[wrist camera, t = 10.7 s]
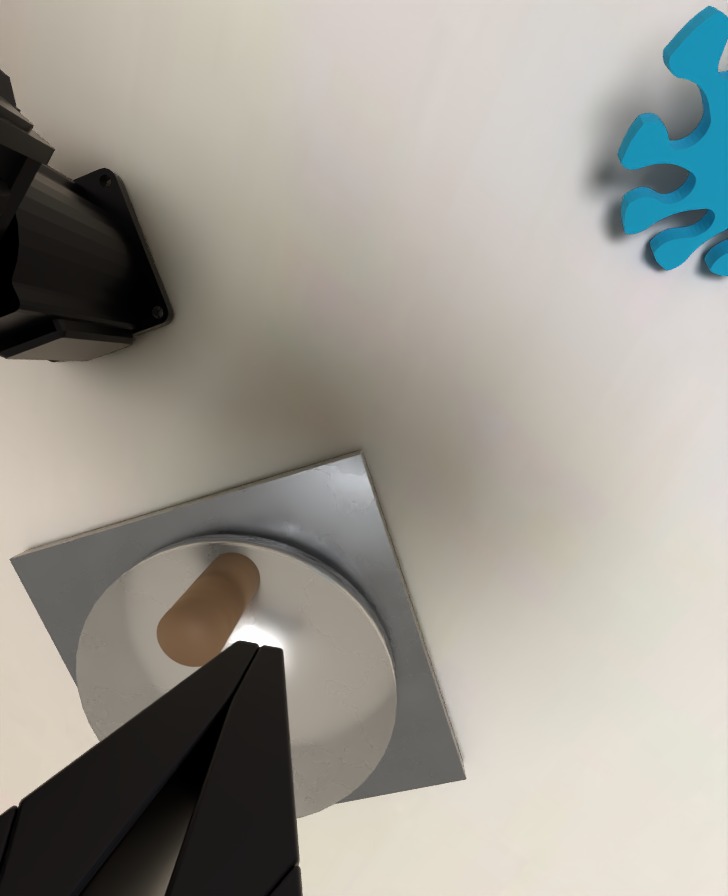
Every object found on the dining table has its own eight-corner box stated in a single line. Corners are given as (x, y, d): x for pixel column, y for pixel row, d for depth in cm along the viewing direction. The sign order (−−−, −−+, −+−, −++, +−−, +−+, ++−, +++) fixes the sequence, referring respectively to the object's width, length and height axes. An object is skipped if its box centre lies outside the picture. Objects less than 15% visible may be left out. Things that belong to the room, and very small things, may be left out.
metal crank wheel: (78, 774, 22) (-15, 898, 17) (111, 497, 18) (4, 547, 13) (347, 847, 22) (335, 992, 17) (435, 583, 18) (453, 667, 13)
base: (27, 549, 20) (-58, 592, 17) (361, 449, 18) (355, 471, 14) (166, 818, 24) (123, 906, 20) (462, 760, 22) (479, 847, 18)
